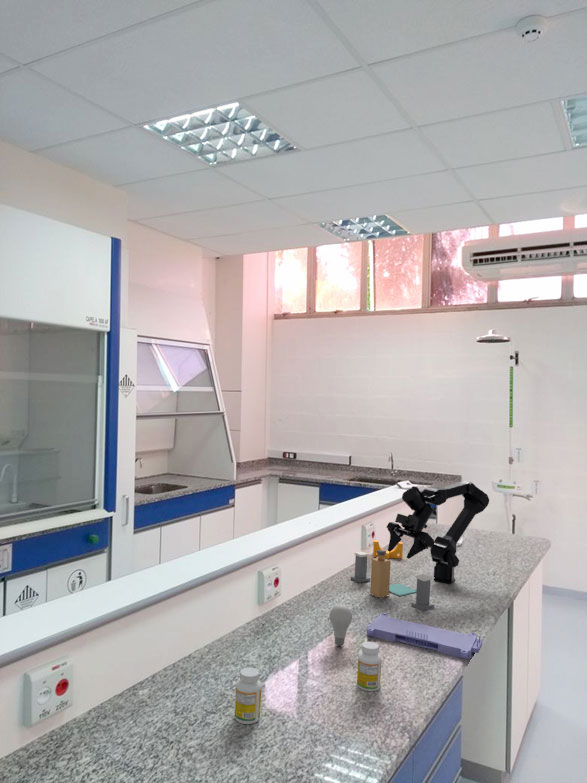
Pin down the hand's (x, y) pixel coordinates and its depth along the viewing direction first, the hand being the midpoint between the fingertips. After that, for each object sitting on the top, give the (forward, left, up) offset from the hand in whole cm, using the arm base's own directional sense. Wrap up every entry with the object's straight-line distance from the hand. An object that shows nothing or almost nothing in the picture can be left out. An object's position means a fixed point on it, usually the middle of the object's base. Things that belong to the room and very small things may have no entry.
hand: (398, 554), depth 209 cm
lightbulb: (-3, +53, -13) cm, 55 cm away
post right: (+15, -3, -12) cm, 19 cm away
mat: (-1, -1, -12) cm, 12 cm away
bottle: (+3, +8, -12) cm, 15 cm away
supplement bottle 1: (-2, +96, -13) cm, 97 cm away
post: (-12, +10, -12) cm, 20 cm away
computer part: (-21, +36, -13) cm, 44 cm away
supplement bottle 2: (-18, +69, -13) cm, 72 cm away
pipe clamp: (+17, -38, -13) cm, 43 cm away
